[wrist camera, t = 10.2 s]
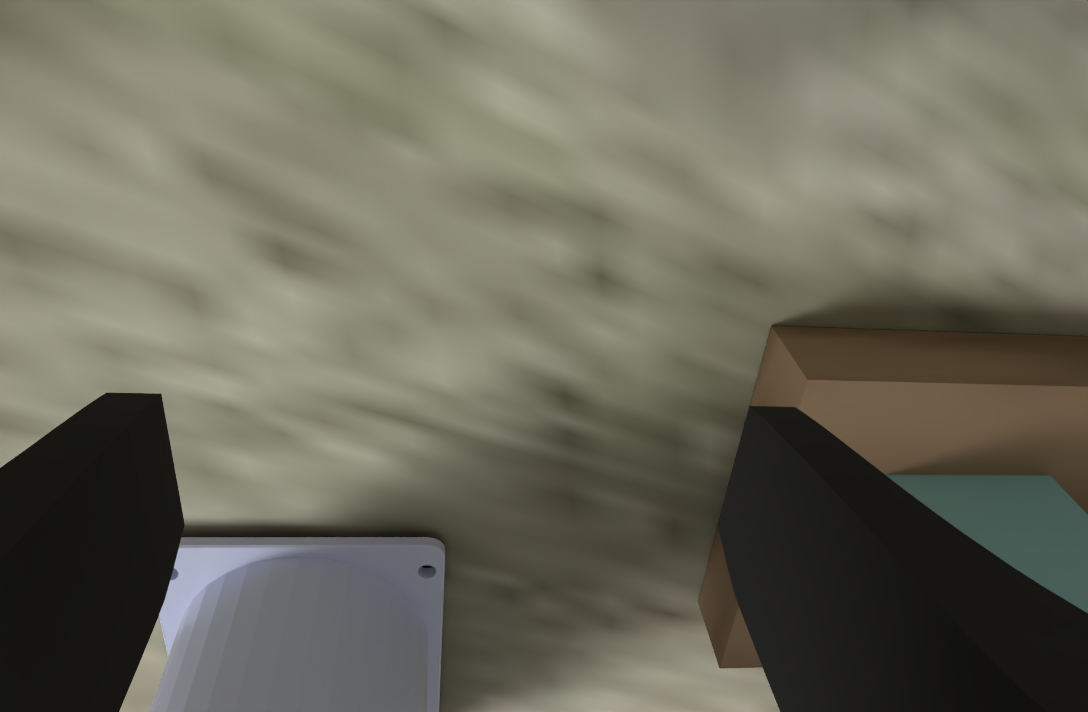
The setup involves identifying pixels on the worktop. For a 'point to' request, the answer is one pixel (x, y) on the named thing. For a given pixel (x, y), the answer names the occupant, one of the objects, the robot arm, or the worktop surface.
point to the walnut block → (921, 418)
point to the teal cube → (1015, 524)
